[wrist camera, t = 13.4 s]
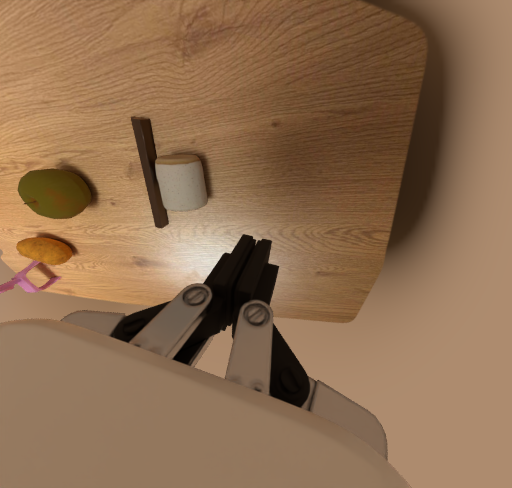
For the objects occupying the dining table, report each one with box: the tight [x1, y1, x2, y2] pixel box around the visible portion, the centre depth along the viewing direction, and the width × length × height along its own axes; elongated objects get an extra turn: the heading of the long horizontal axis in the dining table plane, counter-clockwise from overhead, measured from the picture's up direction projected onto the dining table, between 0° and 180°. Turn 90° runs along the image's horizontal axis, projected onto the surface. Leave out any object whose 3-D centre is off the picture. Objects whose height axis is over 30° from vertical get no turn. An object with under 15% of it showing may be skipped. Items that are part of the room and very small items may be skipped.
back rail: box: [131, 117, 169, 228], centre depth 37 cm, size 3×20×2 cm, turn 174°
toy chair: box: [0, 261, 61, 293], centre depth 63 cm, size 8×9×15 cm
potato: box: [17, 237, 72, 265], centre depth 56 cm, size 7×14×7 cm, turn 81°
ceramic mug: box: [155, 154, 208, 211], centre depth 33 cm, size 11×8×8 cm
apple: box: [18, 169, 91, 219], centre depth 40 cm, size 10×10×11 cm
